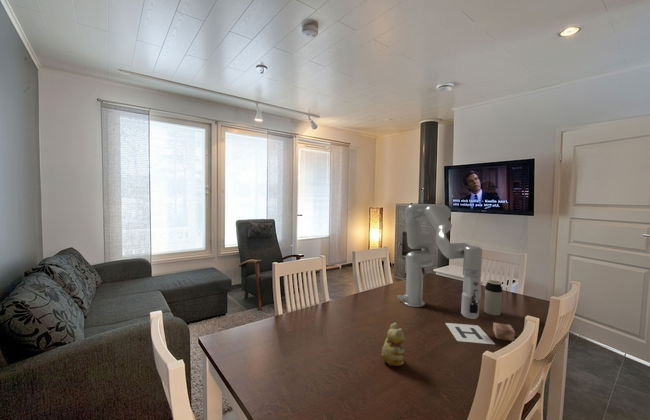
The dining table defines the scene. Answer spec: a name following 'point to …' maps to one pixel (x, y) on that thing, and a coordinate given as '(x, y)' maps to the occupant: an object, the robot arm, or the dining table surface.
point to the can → (468, 307)
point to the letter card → (469, 333)
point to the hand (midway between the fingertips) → (469, 309)
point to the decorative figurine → (393, 346)
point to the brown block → (503, 331)
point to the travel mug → (493, 297)
